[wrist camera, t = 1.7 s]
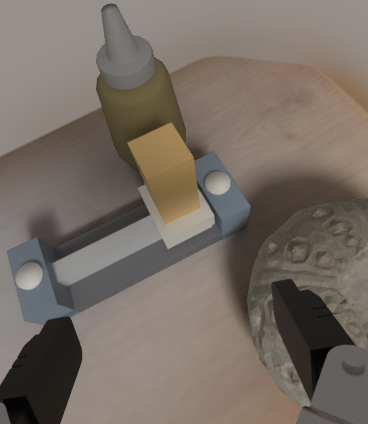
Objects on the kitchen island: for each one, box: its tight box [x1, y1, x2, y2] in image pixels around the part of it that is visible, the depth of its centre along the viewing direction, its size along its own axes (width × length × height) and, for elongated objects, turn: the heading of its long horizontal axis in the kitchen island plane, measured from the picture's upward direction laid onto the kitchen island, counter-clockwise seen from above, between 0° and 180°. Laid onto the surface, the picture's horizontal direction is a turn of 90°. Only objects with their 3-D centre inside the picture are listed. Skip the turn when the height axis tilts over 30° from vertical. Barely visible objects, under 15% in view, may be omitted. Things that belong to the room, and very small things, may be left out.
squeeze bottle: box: [96, 4, 186, 172], centre depth 30 cm, size 8×8×18 cm
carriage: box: [128, 122, 215, 249], centre depth 27 cm, size 5×6×12 cm
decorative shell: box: [246, 199, 368, 407], centre depth 25 cm, size 18×18×10 cm
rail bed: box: [7, 152, 251, 325], centre depth 31 cm, size 22×7×5 cm, turn 116°
